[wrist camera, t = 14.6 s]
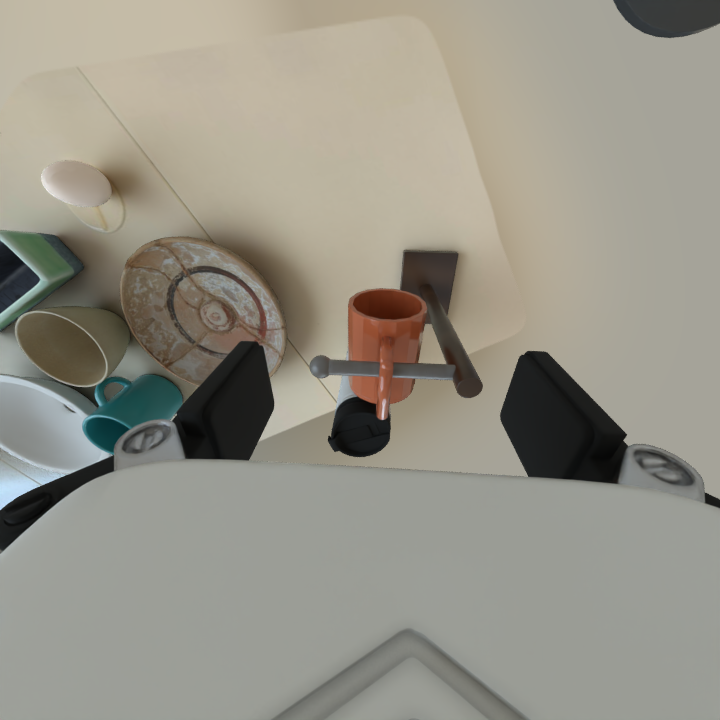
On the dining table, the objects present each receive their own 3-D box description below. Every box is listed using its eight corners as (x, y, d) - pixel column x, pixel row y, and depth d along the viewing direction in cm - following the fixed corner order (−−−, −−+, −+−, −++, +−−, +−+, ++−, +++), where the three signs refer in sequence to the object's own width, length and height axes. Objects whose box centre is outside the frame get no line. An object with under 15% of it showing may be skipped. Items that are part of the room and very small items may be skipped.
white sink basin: (56, 334, 49) (14, 354, 43) (160, 431, 60) (137, 457, 54) (-23, 380, 55) (-68, 402, 50) (84, 460, 66) (56, 486, 60)
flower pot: (164, 344, 49) (125, 372, 41) (114, 367, 52) (70, 397, 44) (106, 278, 43) (51, 296, 36) (55, 308, 46) (-6, 331, 39)
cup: (149, 352, 50) (93, 392, 40) (194, 404, 55) (155, 450, 46) (111, 368, 52) (50, 409, 42) (159, 416, 57) (114, 462, 48)
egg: (78, 180, 37) (15, 178, 31) (96, 153, 35) (34, 146, 29) (112, 213, 39) (59, 218, 32) (130, 189, 37) (79, 189, 31)
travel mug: (340, 336, 46) (317, 425, 29) (380, 324, 45) (380, 410, 27) (354, 368, 49) (340, 466, 32) (392, 358, 47) (399, 454, 30)
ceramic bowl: (242, 203, 37) (224, 205, 33) (318, 355, 48) (312, 371, 44) (108, 266, 42) (77, 275, 38) (204, 390, 53) (189, 407, 49)
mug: (351, 361, 34) (352, 287, 28) (410, 364, 33) (422, 290, 28) (341, 434, 25) (338, 346, 20) (420, 439, 25) (439, 351, 19)
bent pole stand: (340, 248, 39) (297, 316, 19) (456, 251, 39) (544, 325, 18) (342, 317, 44) (309, 430, 24) (444, 321, 44) (501, 441, 23)
